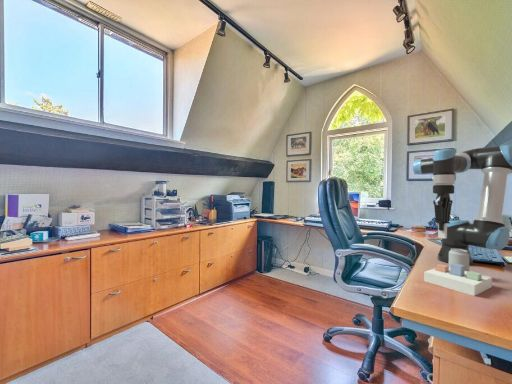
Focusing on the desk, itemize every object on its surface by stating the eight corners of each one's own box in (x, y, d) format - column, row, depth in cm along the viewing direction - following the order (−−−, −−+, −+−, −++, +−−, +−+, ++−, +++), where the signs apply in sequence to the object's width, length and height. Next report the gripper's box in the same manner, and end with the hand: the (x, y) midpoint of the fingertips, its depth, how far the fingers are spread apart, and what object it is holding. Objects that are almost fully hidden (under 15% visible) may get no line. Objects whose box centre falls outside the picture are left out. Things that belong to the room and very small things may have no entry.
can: (473, 278, 108) (473, 252, 108) (454, 277, 110) (454, 251, 110) (462, 273, 116) (463, 248, 116) (444, 271, 117) (445, 247, 117)
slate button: (453, 274, 104) (454, 263, 104) (464, 277, 101) (464, 265, 101) (450, 276, 103) (450, 264, 103) (460, 278, 99) (460, 266, 99)
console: (443, 274, 114) (443, 265, 114) (491, 286, 99) (492, 277, 99) (424, 280, 105) (424, 271, 105) (474, 296, 90) (474, 285, 90)
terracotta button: (439, 274, 109) (439, 263, 109) (448, 277, 106) (448, 266, 106) (435, 276, 107) (435, 264, 107) (444, 278, 104) (445, 267, 104)
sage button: (470, 283, 100) (470, 271, 100) (481, 286, 97) (481, 273, 97) (466, 284, 98) (466, 272, 98) (477, 287, 95) (478, 275, 95)
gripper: (440, 185, 113) (439, 235, 114) (426, 184, 107) (425, 237, 107) (460, 184, 107) (459, 238, 107) (446, 184, 100) (445, 240, 100)
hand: (442, 237), depth 107 cm, fingers closed
